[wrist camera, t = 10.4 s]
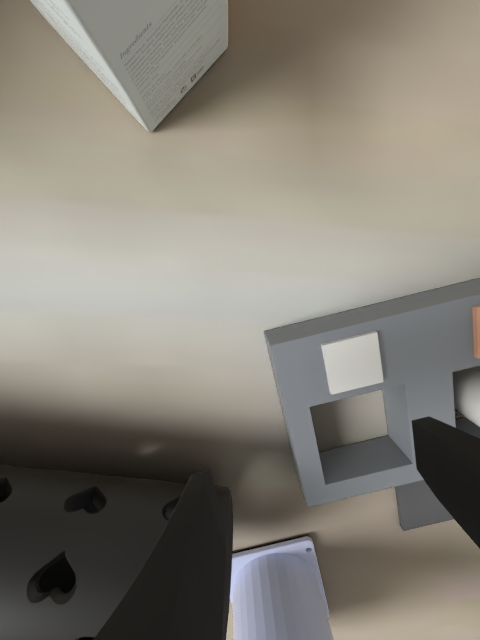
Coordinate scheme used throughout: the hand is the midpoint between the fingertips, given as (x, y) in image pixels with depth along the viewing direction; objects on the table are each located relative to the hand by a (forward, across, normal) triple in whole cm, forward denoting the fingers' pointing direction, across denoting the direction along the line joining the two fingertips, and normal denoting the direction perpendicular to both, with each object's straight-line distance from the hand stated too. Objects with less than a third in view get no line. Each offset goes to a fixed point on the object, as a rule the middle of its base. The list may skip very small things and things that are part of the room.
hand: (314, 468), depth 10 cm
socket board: (+10, -9, +4) cm, 14 cm away
